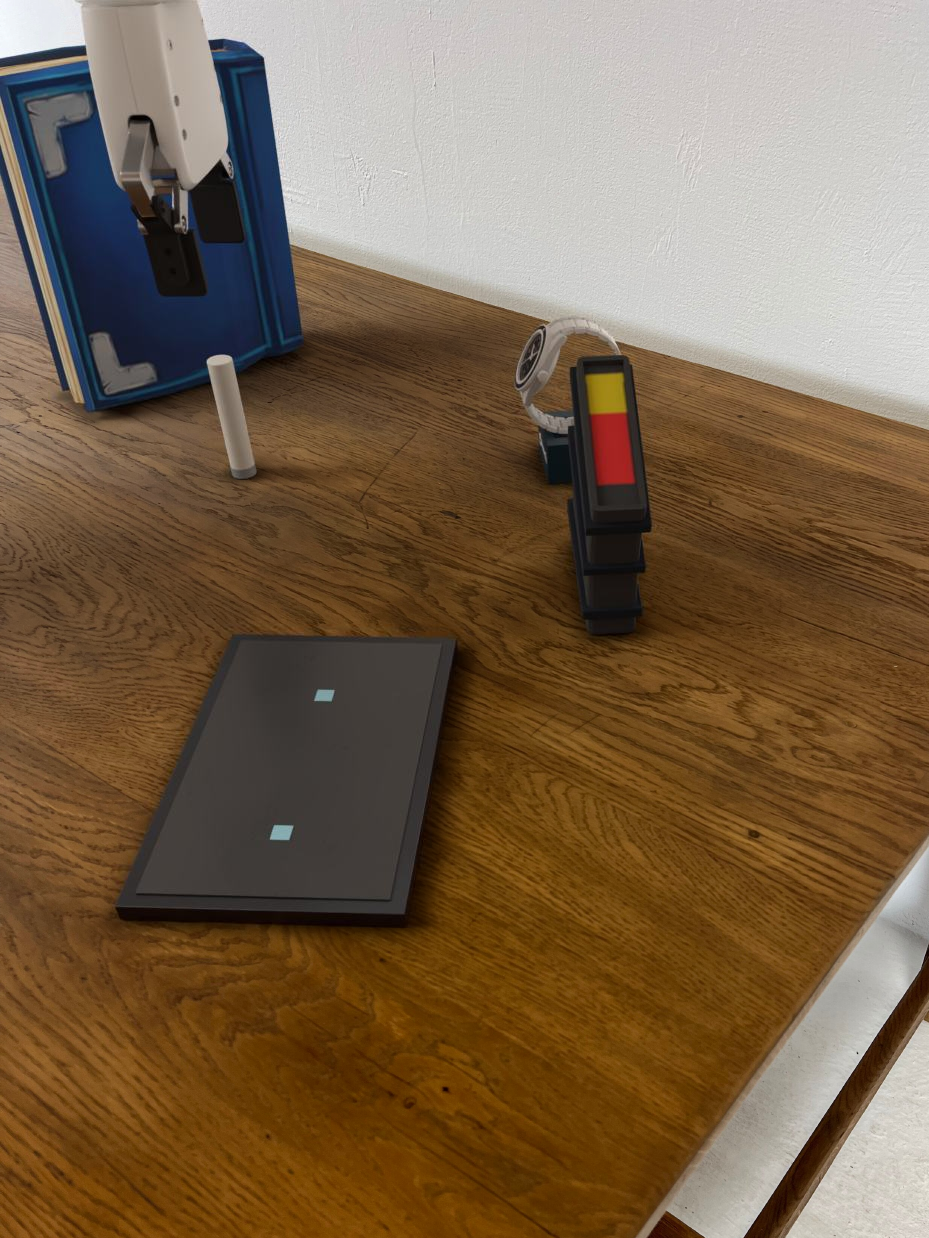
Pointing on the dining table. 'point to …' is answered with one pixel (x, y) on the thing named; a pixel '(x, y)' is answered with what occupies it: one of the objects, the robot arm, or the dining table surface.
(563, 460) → the watch
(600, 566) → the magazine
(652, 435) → the dining table surface
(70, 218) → the book
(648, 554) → the dining table surface
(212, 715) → the tablet
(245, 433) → the stylus
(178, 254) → the robot arm
